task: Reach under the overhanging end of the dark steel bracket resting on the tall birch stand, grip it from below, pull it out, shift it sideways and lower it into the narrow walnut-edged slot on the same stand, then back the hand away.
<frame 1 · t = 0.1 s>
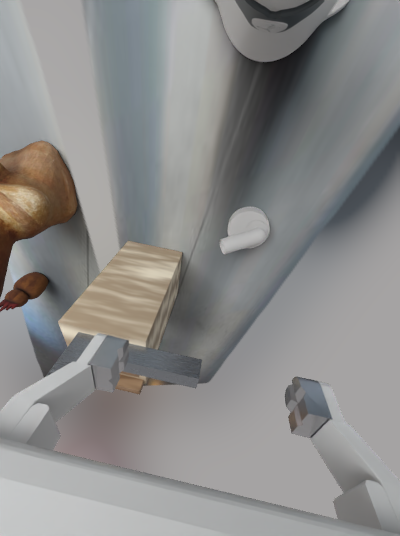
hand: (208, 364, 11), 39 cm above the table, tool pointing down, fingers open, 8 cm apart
wooden figurine: (42, 277, 68), on the table
wall hook: (244, 225, 48), on the table
bracket: (139, 351, 35), point 26 cm above the table, touching stand
stand: (154, 268, 58), on the table
ceramic vessel: (58, 192, 50), on the table
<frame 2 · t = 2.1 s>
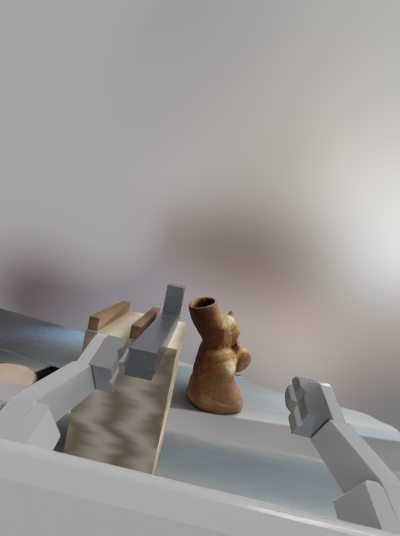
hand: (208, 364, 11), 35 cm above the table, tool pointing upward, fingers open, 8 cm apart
bracket: (158, 342, 33), point 26 cm above the table, touching stand
stand: (118, 462, 40), on the table
ceramic vessel: (204, 401, 63), on the table
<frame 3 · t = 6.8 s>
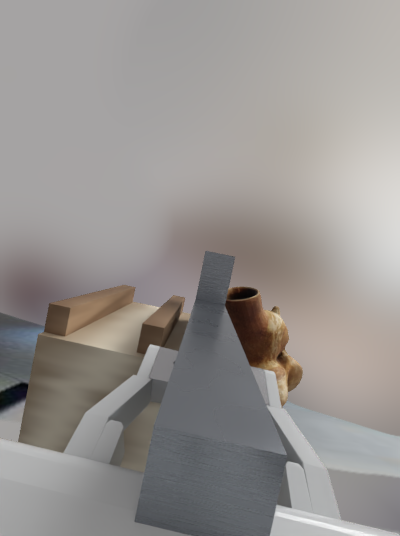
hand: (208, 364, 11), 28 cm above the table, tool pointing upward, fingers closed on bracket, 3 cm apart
bracket: (202, 363, 15), point 26 cm above the table, touching gripper, stand
ceramic vessel: (238, 435, 44), on the table
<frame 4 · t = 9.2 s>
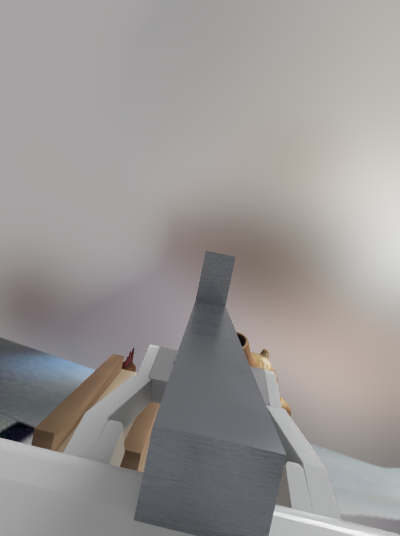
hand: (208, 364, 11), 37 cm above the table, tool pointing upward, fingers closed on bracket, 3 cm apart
wooden figurine: (119, 404, 59), on the table
bracket: (202, 363, 15), point 36 cm above the table, touching gripper
ceramic vessel: (228, 475, 45), on the table
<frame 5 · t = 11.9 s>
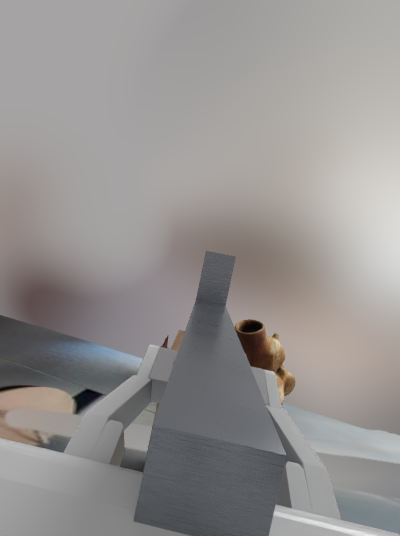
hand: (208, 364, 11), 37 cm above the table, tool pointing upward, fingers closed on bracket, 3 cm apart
bracket: (202, 363, 15), point 36 cm above the table, touching gripper
ceramic vessel: (247, 428, 60), on the table
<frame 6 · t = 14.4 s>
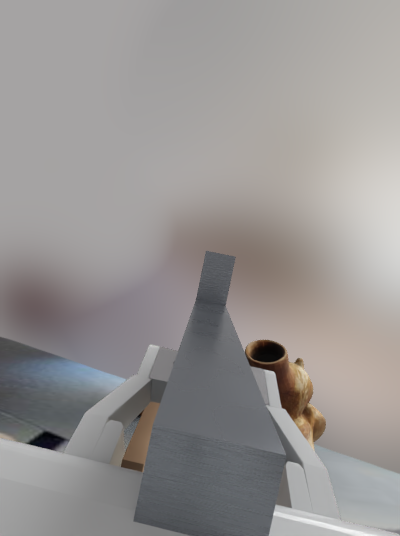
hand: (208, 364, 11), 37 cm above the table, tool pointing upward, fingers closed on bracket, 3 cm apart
bracket: (202, 363, 15), point 35 cm above the table, touching gripper
ceramic vessel: (261, 487, 44), on the table
when the fingers open (29 cm above the table, at t = 16.7 s): bracket drops 1 cm, resting on stand.
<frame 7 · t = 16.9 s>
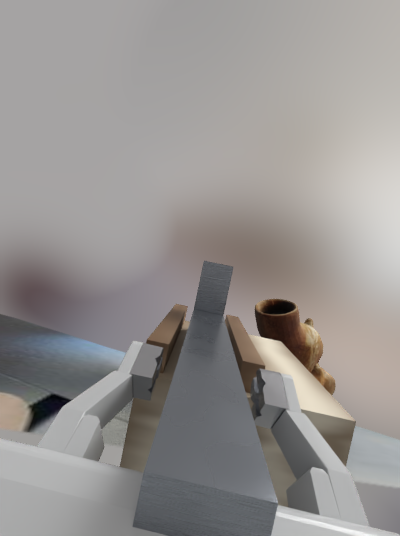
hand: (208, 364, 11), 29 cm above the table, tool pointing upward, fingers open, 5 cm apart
bracket: (199, 378, 15), point 26 cm above the table, touching stand
ceramic vessel: (271, 448, 44), on the table
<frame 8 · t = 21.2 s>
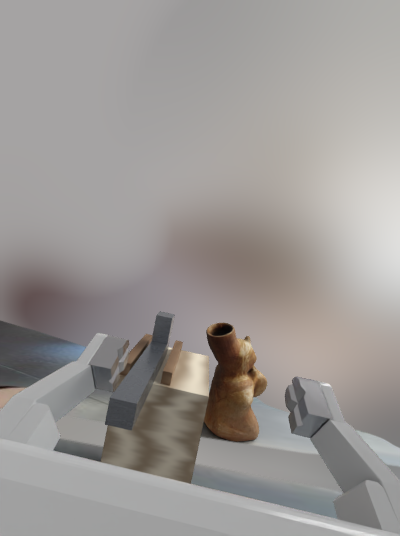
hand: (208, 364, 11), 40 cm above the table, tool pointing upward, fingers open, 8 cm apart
bracket: (145, 378, 33), point 26 cm above the table, touching stand
stand: (143, 500, 40), on the table
ceramic vessel: (220, 427, 62), on the table
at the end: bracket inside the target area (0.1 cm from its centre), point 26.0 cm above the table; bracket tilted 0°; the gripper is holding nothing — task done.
